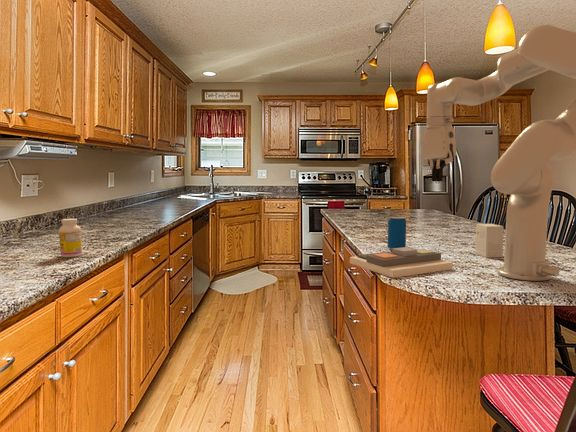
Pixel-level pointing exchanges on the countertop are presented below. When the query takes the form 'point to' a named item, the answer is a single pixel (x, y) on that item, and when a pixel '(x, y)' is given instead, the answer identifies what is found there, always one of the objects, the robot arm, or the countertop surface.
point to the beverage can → (396, 232)
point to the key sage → (424, 251)
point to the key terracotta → (385, 255)
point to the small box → (489, 240)
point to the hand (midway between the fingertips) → (437, 181)
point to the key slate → (404, 251)
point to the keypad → (402, 264)
